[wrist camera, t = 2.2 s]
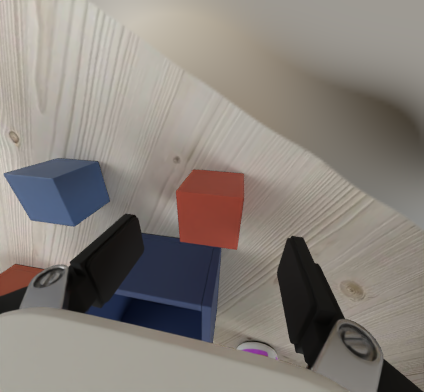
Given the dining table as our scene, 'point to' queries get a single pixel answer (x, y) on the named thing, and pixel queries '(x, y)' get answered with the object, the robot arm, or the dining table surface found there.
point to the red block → (211, 208)
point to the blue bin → (169, 289)
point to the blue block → (60, 190)
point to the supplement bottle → (258, 349)
